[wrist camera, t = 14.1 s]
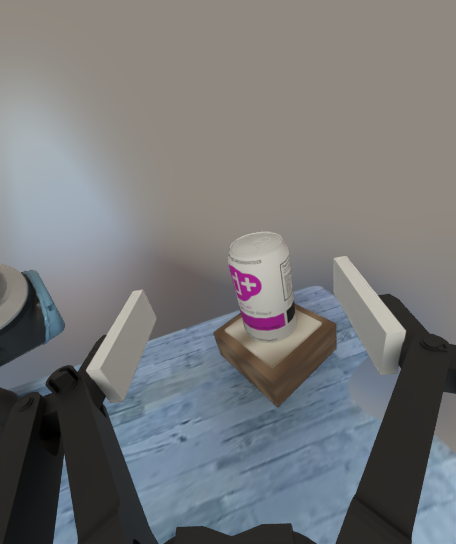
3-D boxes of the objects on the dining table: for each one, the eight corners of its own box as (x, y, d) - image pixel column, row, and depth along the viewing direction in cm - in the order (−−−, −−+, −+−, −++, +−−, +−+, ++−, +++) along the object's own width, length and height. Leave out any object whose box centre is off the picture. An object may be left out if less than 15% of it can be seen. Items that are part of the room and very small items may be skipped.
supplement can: (268, 355, 36) (249, 265, 28) (235, 326, 42) (214, 247, 35) (308, 326, 39) (301, 237, 31) (272, 303, 45) (259, 225, 38)
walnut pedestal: (220, 354, 46) (212, 330, 43) (274, 313, 52) (270, 290, 49) (277, 407, 35) (272, 380, 32) (336, 348, 41) (336, 321, 38)
